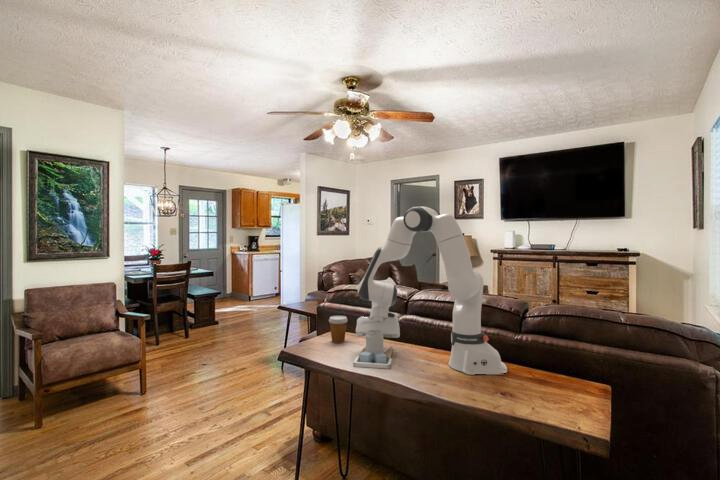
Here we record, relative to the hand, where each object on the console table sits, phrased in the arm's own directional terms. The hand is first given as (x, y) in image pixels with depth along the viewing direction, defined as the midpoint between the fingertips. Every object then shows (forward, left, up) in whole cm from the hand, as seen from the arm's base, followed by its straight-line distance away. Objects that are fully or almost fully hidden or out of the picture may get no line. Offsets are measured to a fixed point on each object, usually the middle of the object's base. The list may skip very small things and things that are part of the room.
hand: (376, 344), depth 160 cm
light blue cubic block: (+3, +9, -5) cm, 11 cm away
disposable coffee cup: (+22, -18, -5) cm, 29 cm away
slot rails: (0, -1, -5) cm, 5 cm away
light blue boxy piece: (-3, +9, -5) cm, 11 cm away
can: (0, +4, -5) cm, 7 cm away
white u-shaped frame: (0, +10, -5) cm, 12 cm away
